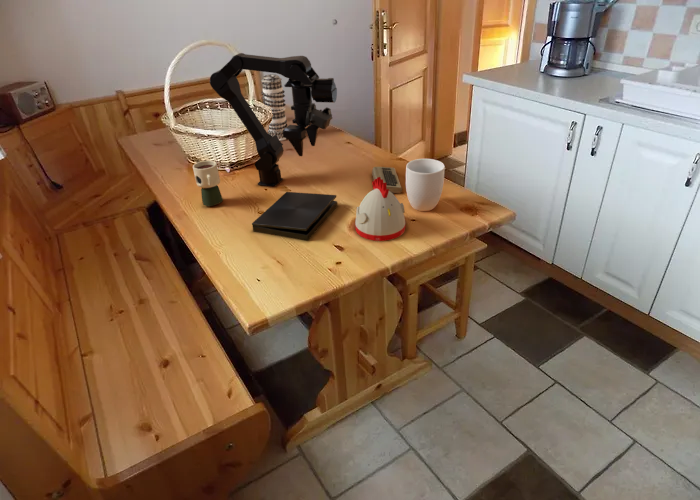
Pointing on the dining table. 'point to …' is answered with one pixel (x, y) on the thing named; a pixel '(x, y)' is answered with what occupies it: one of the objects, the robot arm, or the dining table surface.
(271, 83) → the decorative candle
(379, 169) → the computer
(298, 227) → the laptop screen
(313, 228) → the laptop
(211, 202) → the character mug
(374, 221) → the kitchen timer
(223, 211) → the dining table surface
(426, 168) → the mug
